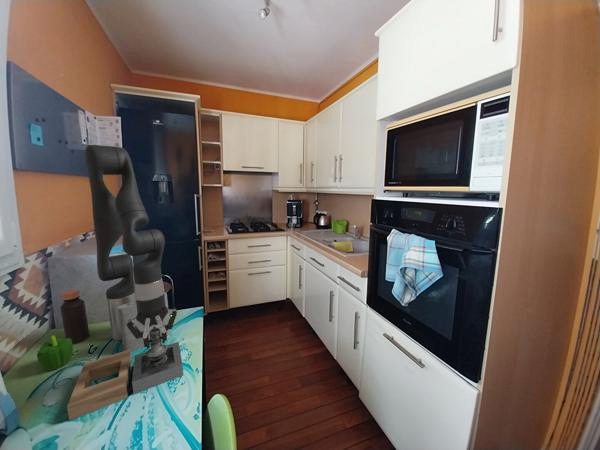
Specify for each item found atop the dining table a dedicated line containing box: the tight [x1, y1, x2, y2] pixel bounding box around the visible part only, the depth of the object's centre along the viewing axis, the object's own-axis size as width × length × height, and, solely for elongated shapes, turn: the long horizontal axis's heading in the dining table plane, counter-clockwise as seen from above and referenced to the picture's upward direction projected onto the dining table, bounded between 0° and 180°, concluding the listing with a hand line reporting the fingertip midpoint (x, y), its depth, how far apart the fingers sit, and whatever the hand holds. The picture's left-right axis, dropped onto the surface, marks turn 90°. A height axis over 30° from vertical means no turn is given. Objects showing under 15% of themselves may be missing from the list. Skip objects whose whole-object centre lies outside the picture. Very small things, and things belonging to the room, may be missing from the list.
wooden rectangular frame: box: [66, 350, 133, 421], centre depth 70 cm, size 18×12×4 cm, turn 32°
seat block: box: [131, 341, 184, 395], centre depth 76 cm, size 13×13×4 cm
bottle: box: [60, 289, 90, 345], centre depth 92 cm, size 7×7×20 cm
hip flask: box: [118, 291, 172, 353], centre depth 89 cm, size 16×4×20 cm, turn 140°
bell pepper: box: [36, 334, 74, 371], centre depth 79 cm, size 8×8×10 cm
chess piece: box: [145, 326, 167, 367], centre depth 75 cm, size 6×6×12 cm
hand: (156, 344), depth 75 cm, fingers closed on chess piece, 3 cm apart
